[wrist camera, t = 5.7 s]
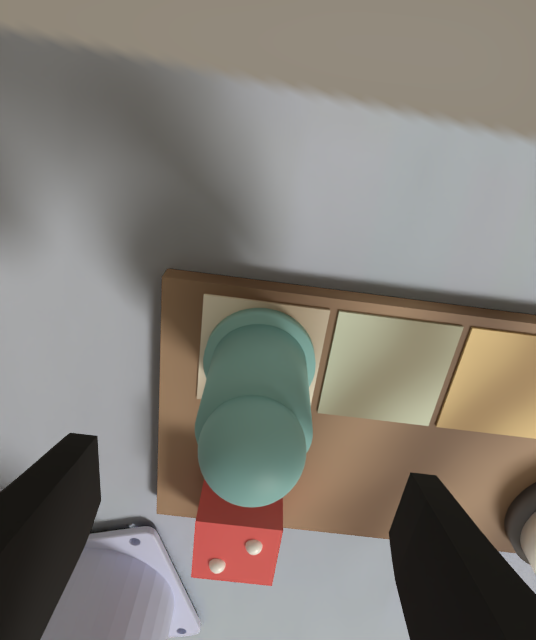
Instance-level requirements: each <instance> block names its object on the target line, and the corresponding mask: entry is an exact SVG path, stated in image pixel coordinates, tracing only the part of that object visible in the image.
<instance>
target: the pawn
mask: <svg viewBox="0 0 536 640" xmlns="http://www.w3.org/2000/svg"><path fill="white" fill-rule="evenodd" d="M315 367H316V362H315V354H314V347H313V343H312V340H311V338H310V336H309V334H308V333H307V331H306V330H305V329H304V327H303V326H302V325H301V324H300V323H299V322H298V321H296V320H295V319H294V318H292V317H291V316H289V315H287V314H285V313H283V312H280V311H277V310H273V309H268V308H250V309H244V310H241V311H238V312H235V313H233V314H231V315H229V316H227V317H226V318H225V319H223V320H222V321H221V322H220V323H219V324H218V325H217V326H216V327H215V328H214V330H213V331H212V333H211V335H210V336H209V339H208V342H207V345H206V348H205V352H204V356H203V368H204V373H205V376H206V383H205V387H204V391H203V394H202V398H201V402H200V406H199V410H198V413H197V417H196V421H195V437H196V441H197V444H198V462H199V466H200V469H201V472H202V475H203V477H204V479H205V481H206V482H207V484H208V485H209V486H210V488H211V489H212V490H213V491H214V492H215V493H216V494H217V495H218V496H220V497H221V498H222V499H224V500H225V501H227V502H229V503H232V504H234V505H238V506H242V507H262V506H266V505H269V504H272V503H274V502H276V501H278V500H279V499H281V498H283V497H284V496H285V495H286V494H287V493H288V492H289V491H291V490H292V488H293V487H294V486H295V485H296V483H297V482H298V480H299V478H300V476H301V474H302V472H303V469H304V466H305V461H306V453H307V452H308V450H309V448H310V445H311V443H312V438H313V426H312V416H311V405H310V394H309V387H310V385H311V383H312V381H313V378H314V374H315Z"/></svg>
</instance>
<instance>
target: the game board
mask: <svg viewBox="0 0 536 640" xmlns="http://www.w3.org/2000/svg"><path fill="white" fill-rule="evenodd" d="M250 308H268V309H273V310H277V311H280V312H283V313H285V314H287V315H289V316H291V317H292V318H294V319H295V320H296V321H298V322H299V323H300V324H301V325H302V326H303V327H304V329H305V330H306V331H307V333H308V334H309V336H310V338H311V340H312V343H313V347H314V354H315V362H316V367H315V374H314V378H313V381H312V383H311V385H310V387H309V394H310V405H311V416H312V426H313V438H312V443H311V445H310V448H309V450H308V452H307V453H306V461H305V466H304V469H303V472H302V474H301V476H300V478H299V480H298V482H297V483H296V485H295V486H294V487H293V488H292V490H291V491H289V492H288V493H287V494H286V495H285V496H284V497H283V528H291V529H301V530H310V531H319V532H328V533H337V534H346V535H355V536H364V537H373V538H383V539H389V530H390V528H391V525H392V522H393V519H394V516H395V514H396V511H397V508H398V505H399V503H400V500H401V497H402V494H403V491H404V489H405V486H406V483H407V480H408V477H409V475H410V472H412V473H421V474H429V475H437V477H438V478H439V479H440V480H441V482H442V483H443V484H444V485H445V486H446V488H447V489H448V490H449V491H450V493H451V494H452V495H453V496H454V498H455V499H456V500H457V501H458V503H459V504H460V505H461V507H462V508H463V509H464V510H465V512H466V513H467V514H468V515H469V517H470V518H471V519H472V520H473V521H474V523H475V524H476V525H477V526H478V528H479V529H480V530H481V531H482V533H483V534H484V535H485V536H486V537H487V539H488V540H489V541H490V542H491V544H492V545H493V546H494V547H495V548H496V549H497V551H501V552H510V553H517V555H518V556H519V557H520V558H521V559H522V560H524V561H525V562H526V563H528V564H530V563H529V561H528V559H527V557H526V555H525V554H524V552H523V550H522V547H521V543H520V535H521V531H522V529H523V526H524V525H525V523H526V521H527V520H528V519H529V518H530V516H531V515H532V514H533V513H535V512H536V315H531V314H523V313H515V312H507V311H500V310H492V309H484V308H476V307H468V306H460V305H452V304H444V303H436V302H428V301H421V300H413V299H405V298H397V297H389V296H381V295H373V294H365V293H357V292H349V291H342V290H334V289H326V288H318V287H310V286H302V285H294V284H286V283H278V282H270V281H263V280H255V279H247V278H239V277H231V276H223V275H215V274H207V273H199V272H191V271H184V270H176V269H168V268H167V270H166V271H165V273H164V274H163V276H162V295H161V340H160V386H159V431H158V477H157V514H164V515H173V516H182V517H191V518H196V516H197V511H198V507H199V502H200V497H201V492H202V487H203V482H204V477H203V475H202V472H201V469H200V466H199V462H198V444H197V441H196V437H195V421H196V417H197V413H198V410H199V406H200V402H201V398H202V394H203V391H204V387H205V383H206V376H205V373H204V368H203V356H204V352H205V348H206V345H207V342H208V339H209V336H210V335H211V333H212V331H213V330H214V328H215V327H216V326H217V325H218V324H219V323H220V322H221V321H222V320H223V319H225V318H226V317H227V316H229V315H231V314H233V313H235V312H238V311H241V310H244V309H250Z"/></svg>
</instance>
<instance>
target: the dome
mask: <svg viewBox="0 0 536 640" xmlns="http://www.w3.org/2000/svg"><path fill="white" fill-rule="evenodd" d="M520 543H521V547H522V550H523V552H524V554H525V555H526V557H527V559H528V561H529V563H530V565H531V567H532V569H533V570H534V572H535V574H536V512H535V513H533V514H532V515H531V516H530V518H529V519H528V520H527V521H526V523H525V525H524V526H523V529H522V531H521V535H520Z"/></svg>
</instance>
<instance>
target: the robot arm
mask: <svg viewBox="0 0 536 640" xmlns="http://www.w3.org/2000/svg"><path fill="white" fill-rule="evenodd" d="M100 502H101V492H100V474H99V457H98V440H97V436H93V435H84V434H76V433H70V434H68V435H67V436H65V437H64V438H63V439H62V440H61V441H60V442H58V443H57V444H56V445H55V446H54V447H53V448H51V449H50V450H49V451H48V452H47V453H46V454H45V455H43V456H42V457H41V458H40V459H39V460H38V461H37V462H35V463H34V464H33V465H32V466H31V467H30V468H28V469H27V470H26V471H25V472H24V473H23V474H21V475H20V476H19V477H18V478H17V479H15V480H14V481H13V482H12V483H11V484H9V485H8V486H7V487H6V488H5V489H3V490H2V491H1V492H0V640H168V638H172V637H181V636H191V635H196V634H198V633H199V632H200V628H201V622H200V620H199V618H198V616H197V614H196V611H195V609H194V607H193V605H192V603H191V601H190V599H189V597H188V595H187V593H186V591H185V589H184V587H183V585H182V582H181V580H180V578H179V576H178V574H177V572H176V570H175V568H174V566H173V564H172V562H171V560H170V558H169V556H168V554H167V551H166V549H165V547H164V545H163V543H162V541H161V539H160V537H159V535H158V533H157V531H156V530H155V529H154V528H152V527H149V526H142V527H135V528H128V529H121V530H114V531H107V532H100V533H93V534H90V531H91V528H92V525H93V523H94V520H95V517H96V514H97V511H98V508H99V505H100ZM389 539H390V547H391V555H392V562H393V569H394V576H395V581H396V585H397V589H398V593H399V597H400V601H401V605H402V609H403V613H404V617H405V621H406V625H407V629H408V633H409V637H410V640H536V594H535V593H534V592H533V591H532V590H531V589H530V587H529V586H528V585H527V584H526V583H525V582H524V581H523V580H522V579H521V577H520V576H519V575H518V574H517V573H516V572H515V571H514V569H513V568H512V567H511V566H510V565H509V564H508V562H507V561H506V560H505V559H504V558H503V557H502V555H501V554H500V553H499V552H498V551H497V549H496V548H495V547H494V546H493V545H492V544H491V542H490V541H489V540H488V539H487V537H486V536H485V535H484V534H483V533H482V531H481V530H480V529H479V528H478V526H477V525H476V524H475V523H474V521H473V520H472V519H471V518H470V517H469V515H468V514H467V513H466V512H465V510H464V509H463V508H462V507H461V505H460V504H459V503H458V501H457V500H456V499H455V498H454V496H453V495H452V494H451V493H450V491H449V490H448V489H447V488H446V486H445V485H444V484H443V483H442V482H441V480H440V479H439V478H438V477H437V475H429V474H421V473H412V472H410V475H409V477H408V480H407V483H406V486H405V489H404V491H403V494H402V497H401V500H400V503H399V505H398V508H397V511H396V514H395V516H394V519H393V522H392V525H391V528H390V530H389Z"/></svg>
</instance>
